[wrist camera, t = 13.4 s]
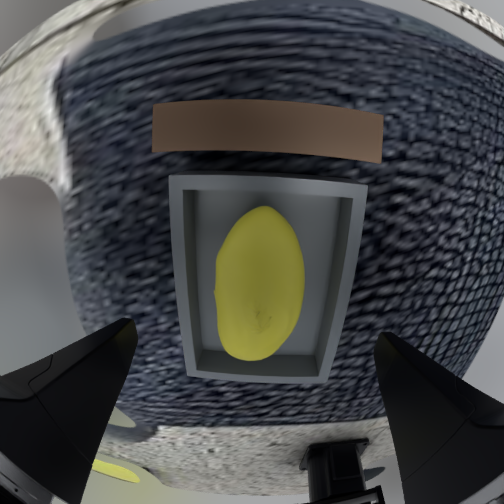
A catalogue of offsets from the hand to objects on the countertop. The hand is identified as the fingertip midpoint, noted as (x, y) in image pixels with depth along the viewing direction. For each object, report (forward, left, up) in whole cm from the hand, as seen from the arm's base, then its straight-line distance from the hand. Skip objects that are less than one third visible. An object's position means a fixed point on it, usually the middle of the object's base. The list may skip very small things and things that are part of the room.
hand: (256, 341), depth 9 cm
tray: (-1, 0, -6) cm, 6 cm away
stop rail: (+7, 0, -6) cm, 9 cm away
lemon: (0, 0, -6) cm, 6 cm away
